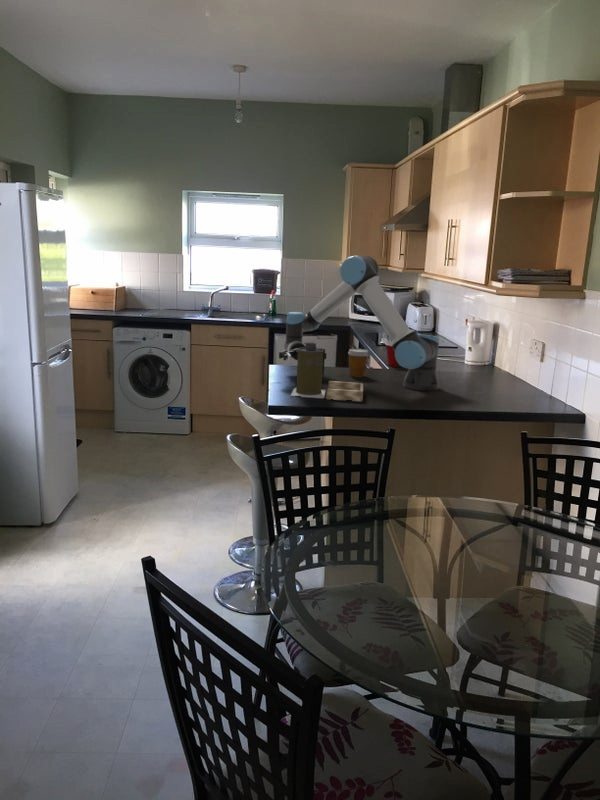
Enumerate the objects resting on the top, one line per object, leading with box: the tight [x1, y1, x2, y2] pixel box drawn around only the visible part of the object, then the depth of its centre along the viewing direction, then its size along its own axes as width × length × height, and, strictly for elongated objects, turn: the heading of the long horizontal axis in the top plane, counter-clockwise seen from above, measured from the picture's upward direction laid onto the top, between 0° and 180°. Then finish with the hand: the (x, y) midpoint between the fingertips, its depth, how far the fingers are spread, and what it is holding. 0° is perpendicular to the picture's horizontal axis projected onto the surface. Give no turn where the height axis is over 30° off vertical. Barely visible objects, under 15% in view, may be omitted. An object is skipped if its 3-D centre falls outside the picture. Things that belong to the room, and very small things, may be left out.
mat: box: [290, 387, 327, 399], centre depth 262 cm, size 13×14×1 cm
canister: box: [296, 341, 326, 395], centre depth 260 cm, size 11×10×20 cm
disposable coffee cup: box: [347, 348, 369, 378], centre depth 302 cm, size 10×10×12 cm
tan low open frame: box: [325, 380, 364, 402], centre depth 260 cm, size 14×16×4 cm
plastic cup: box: [384, 340, 400, 368], centre depth 333 cm, size 11×11×12 cm
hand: (306, 358), depth 267 cm, fingers open, 13 cm apart
